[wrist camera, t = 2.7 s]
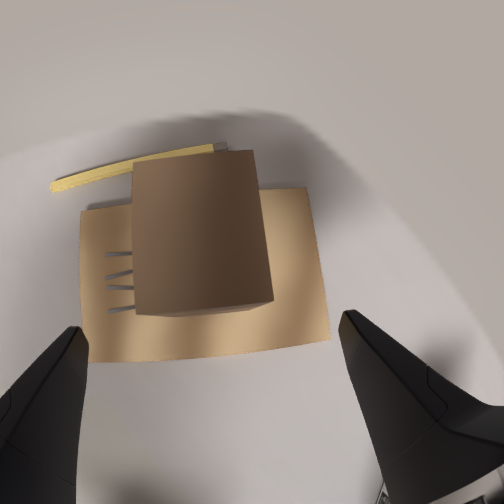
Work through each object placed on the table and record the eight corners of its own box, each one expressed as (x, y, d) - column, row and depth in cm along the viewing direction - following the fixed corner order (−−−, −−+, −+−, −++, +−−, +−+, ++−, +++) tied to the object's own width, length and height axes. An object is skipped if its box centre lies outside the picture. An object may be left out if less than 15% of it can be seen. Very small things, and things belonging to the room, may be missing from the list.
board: (91, 361, 18) (86, 362, 17) (85, 214, 20) (80, 211, 20) (327, 338, 20) (331, 339, 19) (303, 191, 22) (306, 187, 21)
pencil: (54, 193, 21) (50, 189, 20) (54, 185, 21) (50, 182, 20) (227, 153, 23) (227, 148, 22) (226, 146, 23) (226, 141, 22)
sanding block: (180, 317, 19) (135, 314, 9) (173, 235, 20) (133, 162, 10) (249, 310, 19) (274, 300, 9) (239, 228, 20) (253, 149, 11)
